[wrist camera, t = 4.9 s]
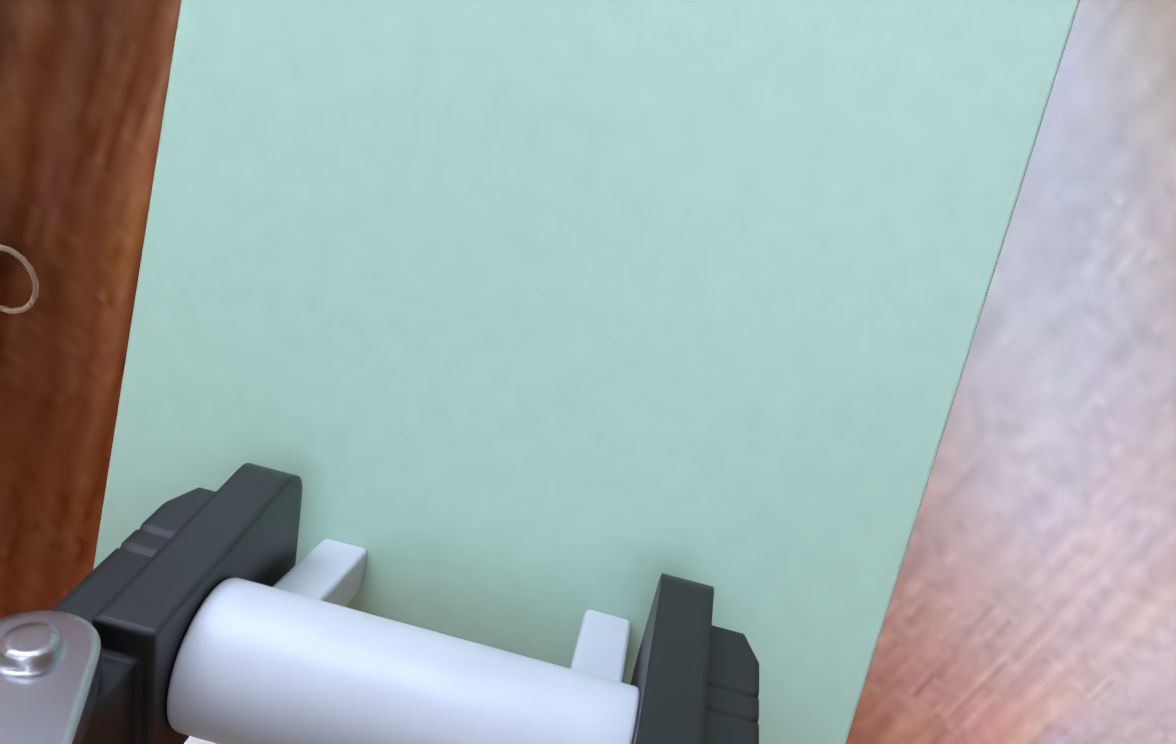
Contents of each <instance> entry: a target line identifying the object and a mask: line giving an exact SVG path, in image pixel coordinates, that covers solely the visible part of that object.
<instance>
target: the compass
mask: <svg viewBox="0 0 1176 744" xmlns="http://www.w3.org/2000/svg"><path fill="white" fill-rule="evenodd" d="M0 250H1V251H4V252H7V253H10V254H11V255H13V256H14V257H15V258H17V259H18V260H20V262H21V263H22V264H23V265H24V267H25V268H26V269H27V270H28V272H29V275H30V278H31V280H32V296H31V298H30V300H29V302H28V303H27V304H25V305H24V306H22V307H19V308H9V307H5V306H2V305H0V311H2V312H6V313H9V314H16V313H24V312H26V311H27V310H29V309H30V308H32V307H33V306H34V304H35V302H36V300H37V298H38V296H39V281H38V278H37V275H36V273H35V270H34V268H33V267H32V265H31V264H30V263H29V262H28V260H27V259H26V258H25V257H24V256H23V255H22V254H20V253H19V252H17V251H16V250H15V249H13V248H11V247H8V246H4V245H1V244H0Z"/></svg>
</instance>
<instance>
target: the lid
mask: <svg viewBox="0 0 1176 744" xmlns="http://www.w3.org/2000/svg"><path fill="white" fill-rule="evenodd" d="M1079 1H1080V0H181V7H180V13H179V20H178V26H177V32H176V39H175V45H174V52H173V58H172V65H171V71H170V78H169V84H168V91H167V97H166V103H165V110H164V116H163V123H162V129H161V136H160V142H159V149H158V155H157V162H156V168H155V174H154V181H153V187H152V194H151V200H150V207H149V213H148V220H147V226H146V233H145V239H144V246H143V252H142V258H141V265H140V271H139V278H138V284H137V291H136V297H135V304H134V310H133V317H132V323H131V329H130V336H129V342H128V349H127V355H126V362H125V368H124V375H123V381H122V388H121V394H120V400H119V407H118V413H117V420H116V426H115V433H114V439H113V446H112V452H111V459H110V465H109V472H108V478H107V484H106V491H105V497H104V504H103V510H102V517H101V523H100V530H99V536H98V543H97V549H96V555H95V562H94V568H93V570H94V569H95V568H96V567H97V566H98V565H99V564H100V563H101V562H102V561H103V560H104V559H105V558H106V557H107V556H109V555H110V554H111V553H112V552H113V551H114V550H115V549H116V548H120V547H121V545H122V542H123V541H124V540H125V539H127V538H128V537H129V536H130V535H131V534H132V533H133V532H134V531H135V530H136V529H137V530H139V529H140V527H141V524H142V523H143V522H144V521H146V520H147V519H148V518H149V517H150V516H151V515H152V514H153V513H154V512H155V511H156V510H157V509H158V508H159V507H160V506H161V505H162V504H163V503H165V502H167V501H169V500H172V499H174V498H176V497H178V496H180V495H183V494H185V493H187V492H189V491H192V490H194V489H196V488H198V487H200V488H204V489H207V490H211V491H215V492H216V491H217V490H218V489H219V488H220V487H221V486H222V485H223V484H224V483H225V482H226V481H227V480H228V479H229V478H230V477H231V476H232V475H233V474H234V473H235V472H236V471H237V470H238V469H239V468H240V467H241V466H242V465H244V464H245V463H251V464H255V465H259V466H263V467H267V468H270V469H274V470H278V471H282V472H286V473H289V474H293V475H297V476H299V477H300V478H301V480H302V500H301V511H300V521H299V532H298V543H297V553H296V564H295V566H294V567H293V568H292V569H291V570H290V571H289V572H288V573H287V574H286V575H284V576H283V577H282V578H281V579H280V580H279V581H278V582H277V583H276V584H275V585H274V586H272V587H270V586H266V585H263V584H259V583H255V582H252V581H248V580H244V579H241V578H237V577H236V578H228V579H226V580H224V581H222V582H221V583H220V584H219V585H217V586H216V587H215V588H214V589H213V591H212V592H211V593H210V594H209V595H208V597H207V598H206V599H205V601H204V602H203V604H202V605H201V607H200V608H199V610H198V612H197V613H196V615H195V617H194V618H193V620H192V622H191V624H190V626H189V628H188V630H187V632H186V635H185V637H184V639H183V642H182V644H181V646H180V649H179V652H178V655H177V657H176V661H175V664H174V667H173V671H172V675H171V679H170V684H169V689H168V696H167V717H168V721H169V724H170V726H171V727H172V728H173V729H174V730H175V731H176V732H178V733H181V734H184V735H188V736H191V737H195V738H198V739H202V740H206V741H209V742H213V743H216V744H632V742H633V737H634V732H635V727H636V721H637V715H638V709H639V701H640V692H639V689H638V688H637V687H636V686H632V685H630V683H631V679H632V675H633V671H634V667H635V663H636V659H637V656H638V652H639V649H640V645H641V642H642V638H643V635H644V631H645V628H646V624H647V621H648V617H649V614H650V610H651V607H652V603H653V600H654V596H655V592H656V589H657V586H658V582H659V579H660V576H661V574H662V573H664V574H667V575H671V576H675V577H679V578H682V579H686V580H690V581H694V582H697V583H701V584H705V585H709V586H713V587H714V599H713V613H712V625H713V626H716V627H720V628H724V629H728V630H731V631H735V632H739V633H743V634H744V635H745V637H746V639H747V641H748V643H749V645H750V647H751V649H752V651H753V653H754V654H755V656H756V658H757V660H758V662H759V696H758V699H759V719H758V724H759V744H845V743H846V740H847V737H848V734H849V731H850V728H851V724H852V721H853V718H854V715H855V712H856V709H857V705H858V702H859V699H860V696H861V693H862V690H863V686H864V683H865V680H866V677H867V674H868V670H869V667H870V664H871V661H872V658H873V655H874V651H875V648H876V645H877V642H878V639H879V636H880V632H881V629H882V626H883V623H884V620H885V617H886V613H887V610H888V607H889V604H890V601H891V598H892V594H893V591H894V588H895V585H896V582H897V579H898V575H899V572H900V569H901V566H902V563H903V560H904V556H905V553H906V550H907V547H908V544H909V540H910V537H911V534H912V531H913V528H914V525H915V521H916V518H917V515H918V512H919V509H920V506H921V502H922V499H923V496H924V493H925V490H926V487H927V483H928V480H929V477H930V474H931V471H932V468H933V464H934V461H935V458H936V455H937V452H938V449H939V445H940V442H941V439H942V436H943V433H944V429H945V426H946V423H947V420H948V417H949V414H950V410H951V407H952V404H953V401H954V398H955V395H956V391H957V388H958V385H959V382H960V379H961V376H962V372H963V369H964V366H965V363H966V360H967V357H968V353H969V350H970V347H971V344H972V341H973V338H974V334H975V331H976V328H977V325H978V322H979V319H980V315H981V312H982V309H983V306H984V303H985V299H986V296H987V293H988V290H989V287H990V284H991V280H992V277H993V274H994V271H995V268H996V265H997V261H998V258H999V255H1000V252H1001V249H1002V246H1003V242H1004V239H1005V236H1006V233H1007V230H1008V227H1009V223H1010V220H1011V217H1012V214H1013V211H1014V208H1015V204H1016V201H1017V198H1018V195H1019V192H1020V188H1021V185H1022V182H1023V179H1024V176H1025V173H1026V169H1027V166H1028V163H1029V160H1030V157H1031V154H1032V150H1033V147H1034V144H1035V141H1036V138H1037V135H1038V131H1039V128H1040V125H1041V122H1042V119H1043V116H1044V112H1045V109H1046V106H1047V103H1048V100H1049V97H1050V93H1051V90H1052V87H1053V84H1054V81H1055V77H1056V74H1057V71H1058V68H1059V65H1060V62H1061V58H1062V55H1063V52H1064V49H1065V46H1066V43H1067V39H1068V36H1069V33H1070V30H1071V27H1072V24H1073V20H1074V17H1075V14H1076V11H1077V8H1078V5H1079Z"/></svg>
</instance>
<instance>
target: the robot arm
mask: <svg viewBox="0 0 1176 744" xmlns="http://www.w3.org/2000/svg"><path fill="white" fill-rule="evenodd" d="M301 500H302V480H301V478H300V477H299V476H297V475H293V474H289V473H286V472H282V471H278V470H274V469H270V468H267V467H263V466H259V465H255V464H251V463H245V464H244V465H242V466H241V467H240V468H239V469H238V470H237V471H236V472H235V473H234V474H233V475H232V476H231V477H230V478H229V479H228V480H227V481H226V482H225V483H224V484H223V485H222V486H221V487H220V488H219V489H218V490H217V491H216V492H215V491H211V490H207V489H204V488H200V487H198V488H196V489H194V490H192V491H189V492H187V493H185V494H183V495H180V496H178V497H176V498H174V499H172V500H169V501H167V502H165V503H163V504H162V505H161V506H160V507H159V508H158V509H157V510H156V511H155V512H154V513H153V514H152V515H151V516H150V517H149V518H148V519H147V520H146V521H144V522H143V523H142V524H141V527H140V529H139V530H137V529H136V530H135V531H134V532H133V533H132V534H131V535H130V536H129V537H128V538H127V539H125V540H124V541H123V542H122V545H121V547H120V548H116V549H115V550H114V551H113V552H112V553H111V554H110V555H109V556H107V557H106V558H105V559H104V560H103V561H102V562H101V563H100V564H99V565H98V566H97V567H96V568H95V569H94V570H93V571H92V572H91V573H90V574H88V575H87V576H86V577H85V578H84V579H83V580H82V581H81V582H80V583H79V584H78V585H77V586H76V587H75V588H74V589H73V590H72V591H71V592H69V593H68V594H67V595H66V596H65V597H64V598H63V599H62V600H61V601H60V602H59V603H58V604H57V605H56V606H55V607H54V608H53V609H52V610H39V611H29V612H22V613H18V614H14V615H10V616H7V617H4V618H1V619H0V744H184V743H185V742H186V740H187V739H188V738H189V736H188V735H184V734H181V733H178V732H176V731H175V730H174V729H173V728H172V727H171V726H170V724H169V721H168V717H167V696H168V689H169V684H170V679H171V675H172V671H173V667H174V664H175V661H176V657H177V655H178V652H179V649H180V646H181V644H182V642H183V639H184V637H185V635H186V632H187V630H188V628H189V626H190V624H191V622H192V620H193V618H194V617H195V615H196V613H197V612H198V610H199V608H200V607H201V605H202V604H203V602H204V601H205V599H206V598H207V597H208V595H209V594H210V593H211V592H212V591H213V589H214V588H215V587H216V586H217V585H219V584H220V583H221V582H222V581H224V580H226V579H228V578H236V577H237V578H241V579H244V580H248V581H252V582H255V583H259V584H263V585H266V586H270V587H272V586H274V585H275V584H276V583H277V582H278V581H279V580H280V579H281V578H282V577H283V576H284V575H286V574H287V573H288V572H289V571H290V570H291V569H292V568H293V567H294V566H295V564H296V553H297V543H298V532H299V521H300V511H301ZM713 599H714V587H713V586H709V585H705V584H701V583H697V582H694V581H690V580H686V579H682V578H679V577H675V576H671V575H667V574H664V573H662V574H661V576H660V579H659V582H658V586H657V589H656V592H655V596H654V600H653V603H652V607H651V610H650V614H649V617H648V621H647V624H646V628H645V631H644V635H643V638H642V642H641V645H640V649H639V652H638V656H637V659H636V663H635V667H634V671H633V675H632V679H631V683H630V685H632V686H636V687H637V688H638V689H639V692H640V701H639V709H638V715H637V721H636V727H635V732H634V737H633V742H632V744H759V724H758V719H759V699H758V696H759V662H758V660H757V658H756V656H755V654H754V653H753V651H752V649H751V647H750V645H749V643H748V641H747V639H746V637H745V635H744V634H743V633H739V632H735V631H731V630H728V629H724V628H720V627H716V626H713V625H712V613H713Z"/></svg>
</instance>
